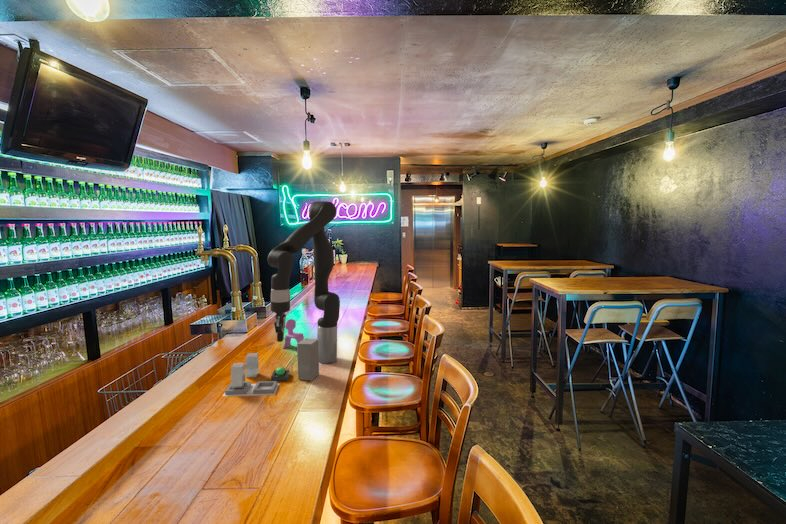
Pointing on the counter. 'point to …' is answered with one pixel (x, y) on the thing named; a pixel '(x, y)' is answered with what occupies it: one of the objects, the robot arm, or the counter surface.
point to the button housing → (280, 376)
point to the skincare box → (308, 359)
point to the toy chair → (292, 333)
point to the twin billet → (238, 376)
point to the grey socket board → (254, 389)
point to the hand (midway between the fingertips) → (280, 340)
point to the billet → (252, 365)
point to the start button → (280, 371)
